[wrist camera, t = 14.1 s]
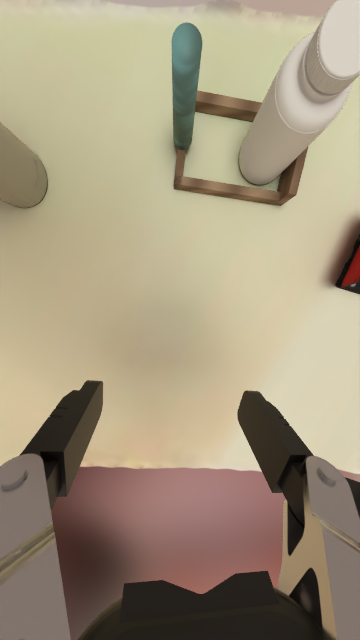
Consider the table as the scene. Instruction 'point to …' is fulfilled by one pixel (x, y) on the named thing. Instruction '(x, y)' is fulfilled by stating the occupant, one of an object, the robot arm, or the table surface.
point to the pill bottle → (304, 94)
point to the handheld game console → (351, 271)
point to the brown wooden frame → (191, 100)
